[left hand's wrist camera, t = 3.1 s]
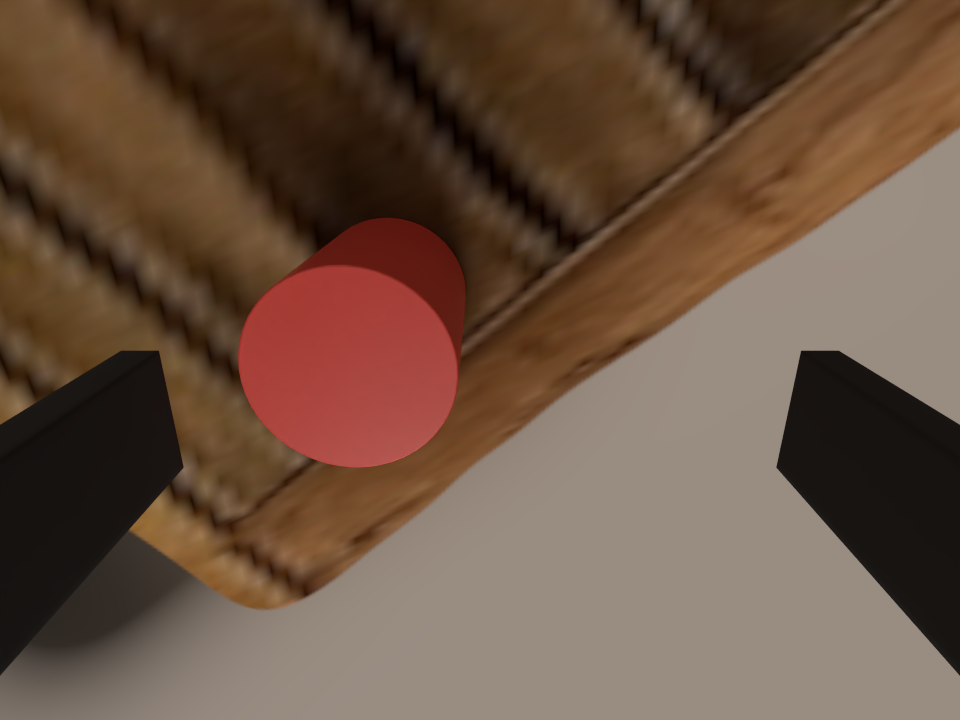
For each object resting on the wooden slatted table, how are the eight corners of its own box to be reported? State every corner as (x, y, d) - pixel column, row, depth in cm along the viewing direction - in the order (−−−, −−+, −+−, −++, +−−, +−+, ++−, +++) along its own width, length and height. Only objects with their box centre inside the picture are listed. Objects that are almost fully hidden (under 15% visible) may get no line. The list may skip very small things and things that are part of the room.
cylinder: (463, 364, 29) (455, 471, 20) (321, 359, 29) (249, 464, 20) (468, 220, 26) (462, 269, 17) (312, 214, 26) (224, 259, 17)
